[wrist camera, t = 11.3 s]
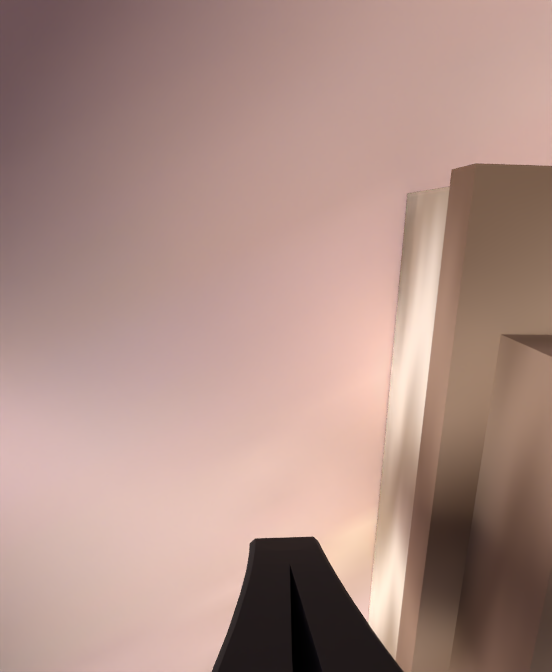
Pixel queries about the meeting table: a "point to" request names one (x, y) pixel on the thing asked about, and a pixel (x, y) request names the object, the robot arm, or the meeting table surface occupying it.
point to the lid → (486, 437)
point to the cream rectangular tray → (406, 405)
